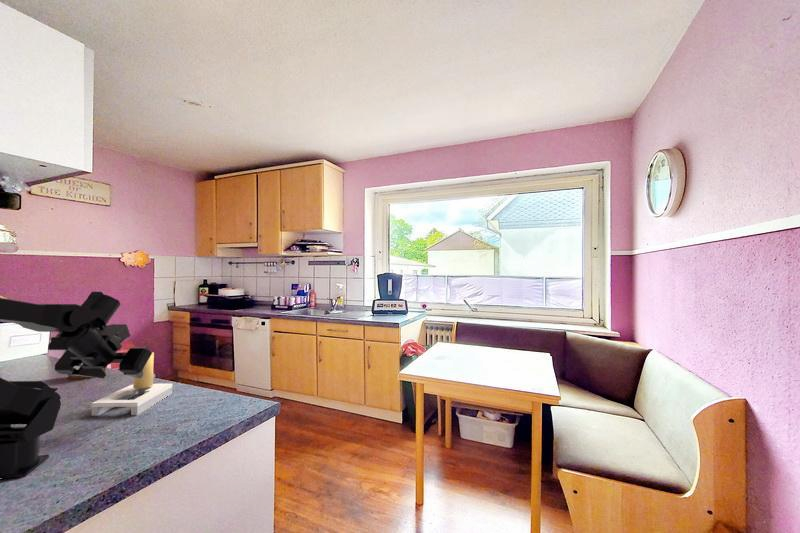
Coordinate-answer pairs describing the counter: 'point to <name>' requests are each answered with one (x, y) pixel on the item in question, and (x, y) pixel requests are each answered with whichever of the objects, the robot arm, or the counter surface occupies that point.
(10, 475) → the robot arm
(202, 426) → the counter surface
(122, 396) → the keyhole plate
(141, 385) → the headed peg
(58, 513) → the counter surface
